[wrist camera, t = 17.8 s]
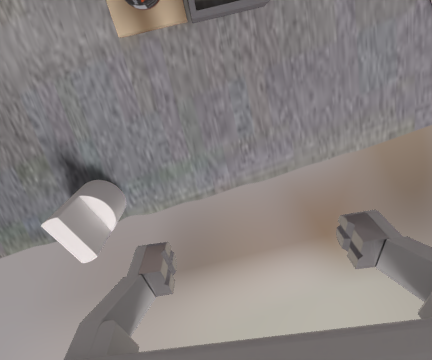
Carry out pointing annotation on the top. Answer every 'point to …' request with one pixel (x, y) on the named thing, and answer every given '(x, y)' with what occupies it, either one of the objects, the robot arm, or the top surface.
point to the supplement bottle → (142, 4)
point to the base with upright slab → (87, 219)
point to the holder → (223, 9)
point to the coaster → (145, 16)
